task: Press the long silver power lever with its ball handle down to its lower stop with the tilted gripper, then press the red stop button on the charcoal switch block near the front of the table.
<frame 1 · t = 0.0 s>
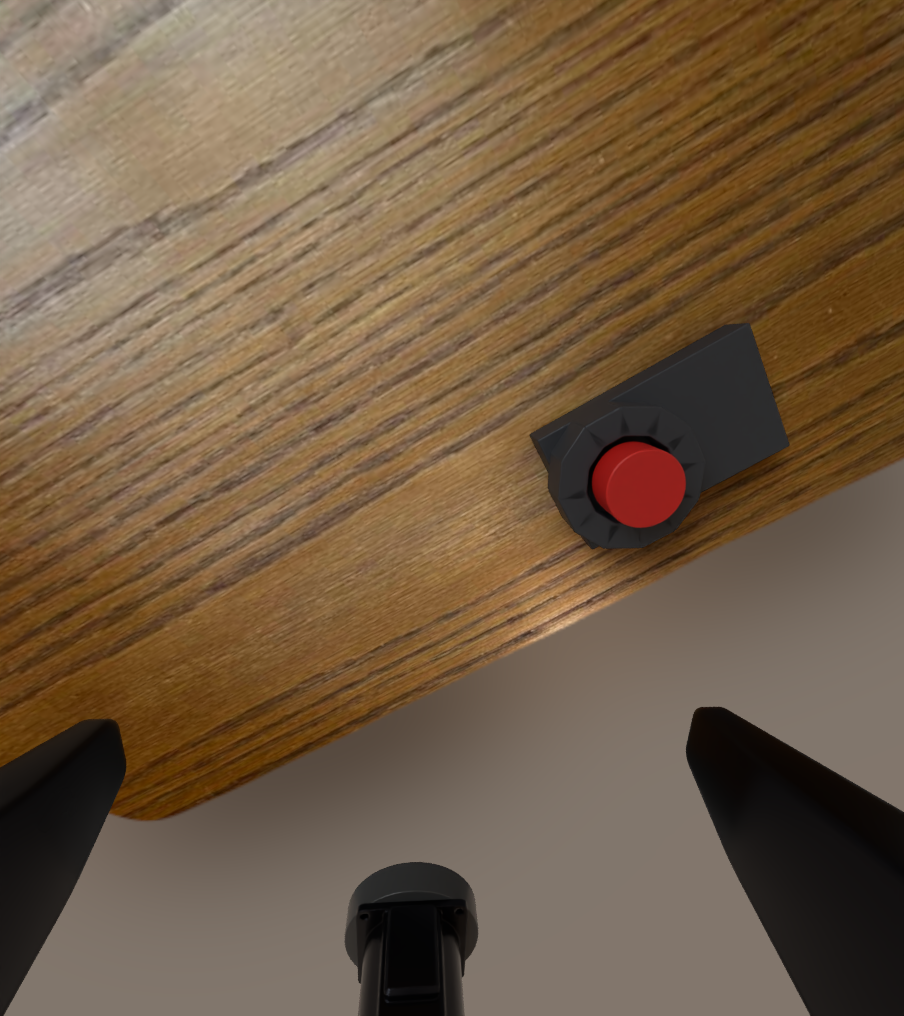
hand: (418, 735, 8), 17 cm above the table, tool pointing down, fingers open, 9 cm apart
switch block: (649, 436, 24), on the table
stop button: (637, 484, 20), point 4 cm above the table, slide at 0.1 cm
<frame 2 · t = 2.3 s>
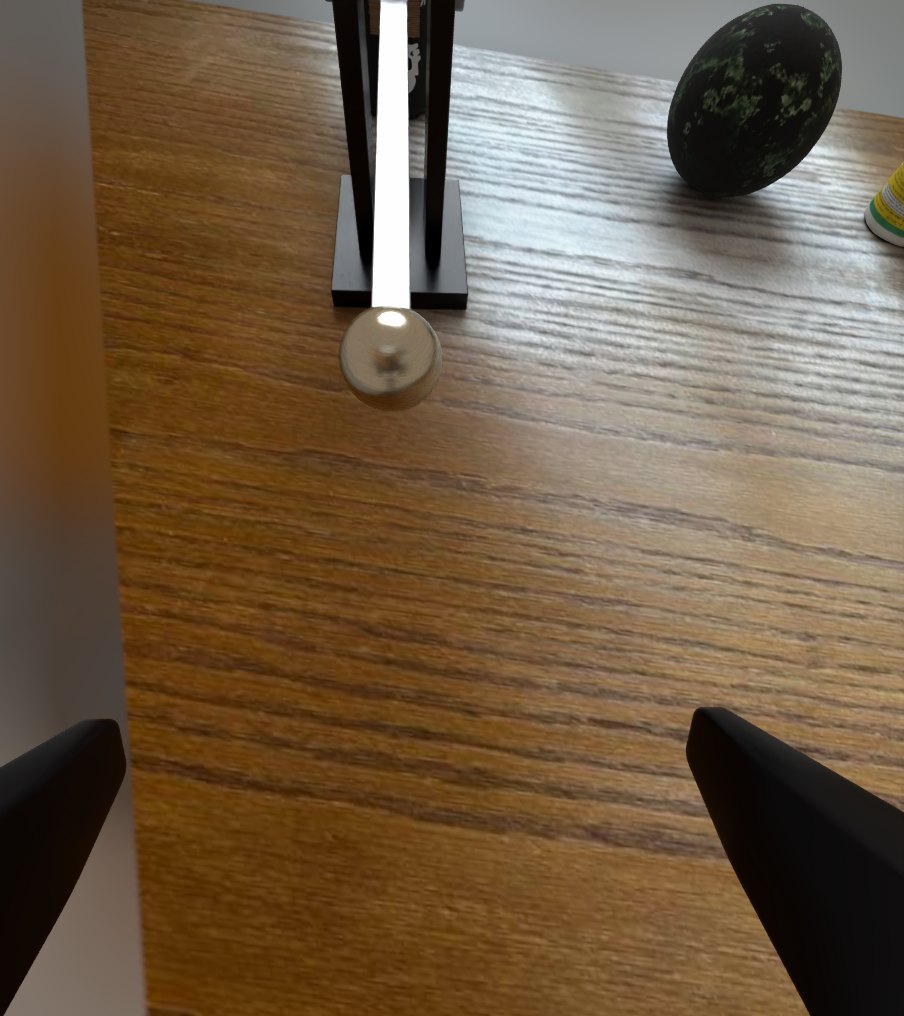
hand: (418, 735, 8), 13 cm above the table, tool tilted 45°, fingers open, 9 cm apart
supplement bottle: (894, 229, 38), on the table
beverage can: (394, 104, 40), on the table
power lever: (393, 129, 17), point 12 cm above the table, hinge at -3.0°
decorative stone: (707, 187, 38), on the table
lever bracket: (400, 247, 33), on the table
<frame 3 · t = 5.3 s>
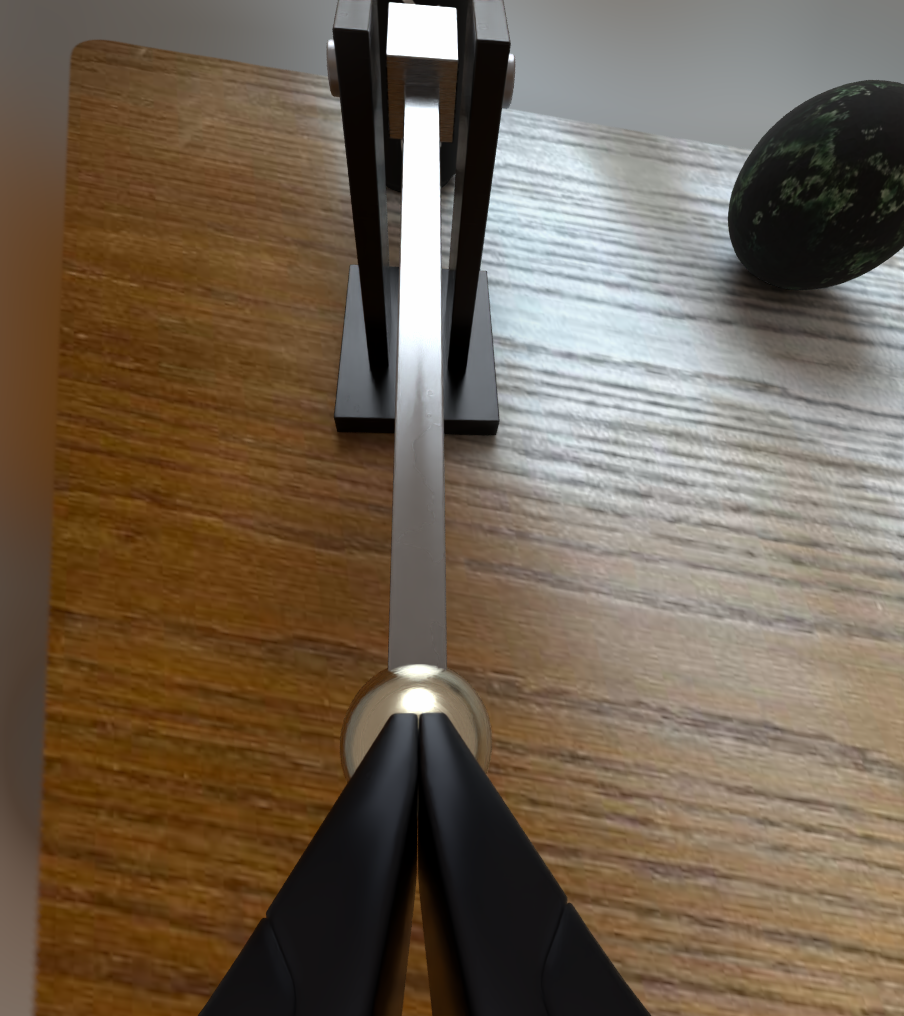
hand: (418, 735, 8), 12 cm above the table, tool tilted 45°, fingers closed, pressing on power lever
beverage can: (412, 174, 36), on the table
power lever: (420, 314, 13), point 11 cm above the table, hinge at -6.1°, touching gripper
decorative stone: (770, 274, 33), on the table
lever bracket: (418, 352, 28), on the table
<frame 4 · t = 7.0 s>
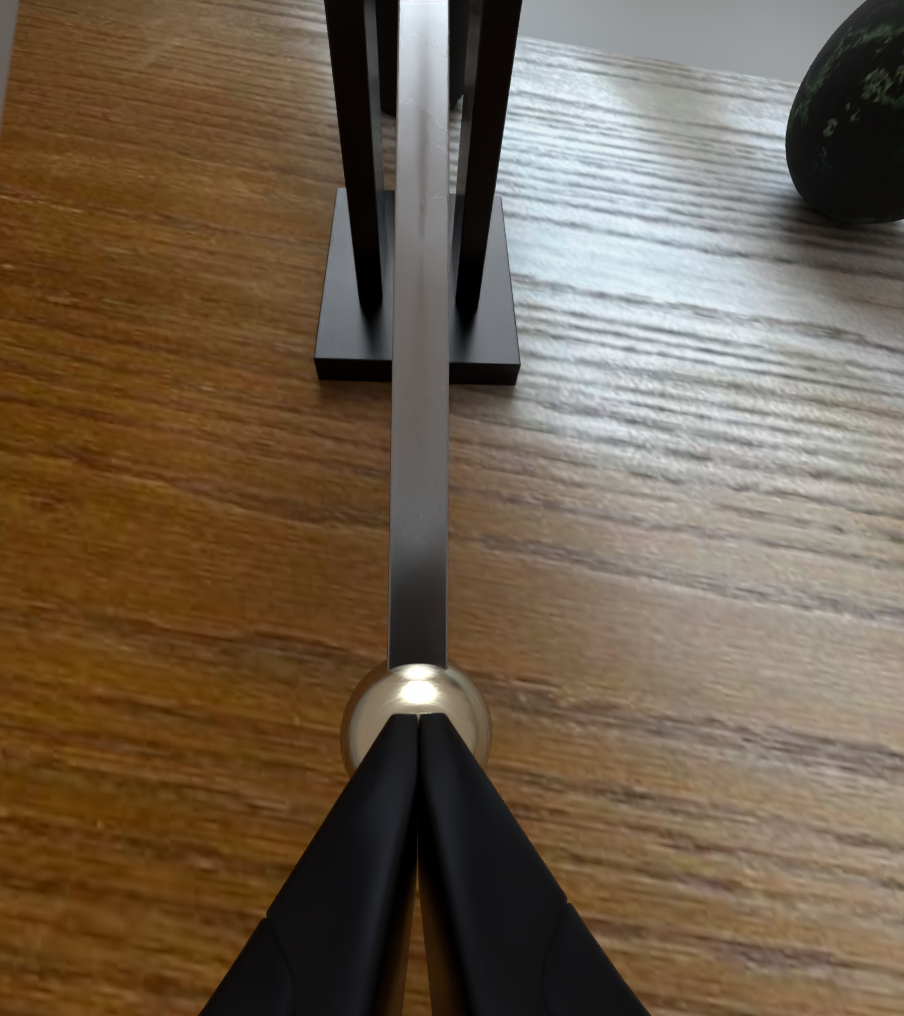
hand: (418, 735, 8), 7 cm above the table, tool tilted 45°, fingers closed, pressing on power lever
beverage can: (412, 99, 31), on the table
power lever: (421, 233, 10), point 9 cm above the table, hinge at -20.5°, touching gripper
decorative stone: (830, 211, 28), on the table
lever bracket: (419, 290, 23), on the table
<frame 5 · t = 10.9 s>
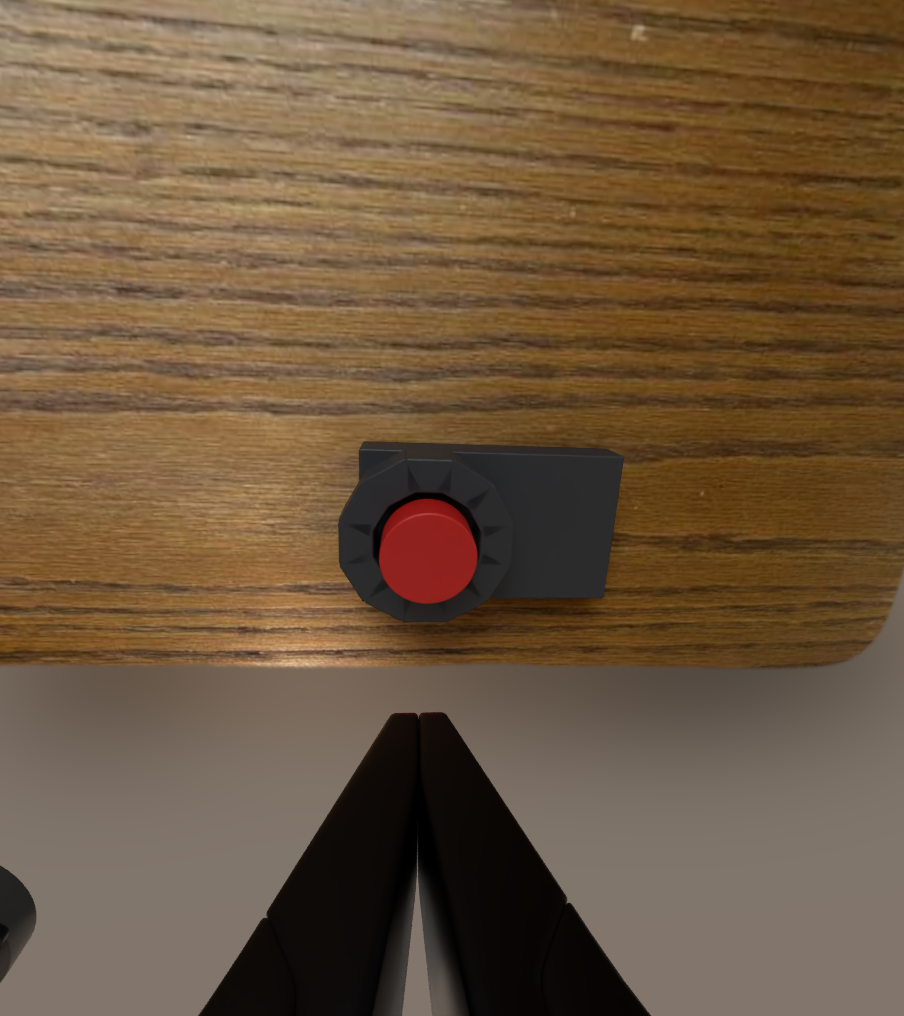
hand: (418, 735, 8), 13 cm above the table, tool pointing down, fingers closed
switch block: (483, 515, 21), on the table
stop button: (427, 550, 17), point 4 cm above the table, slide at 0.1 cm
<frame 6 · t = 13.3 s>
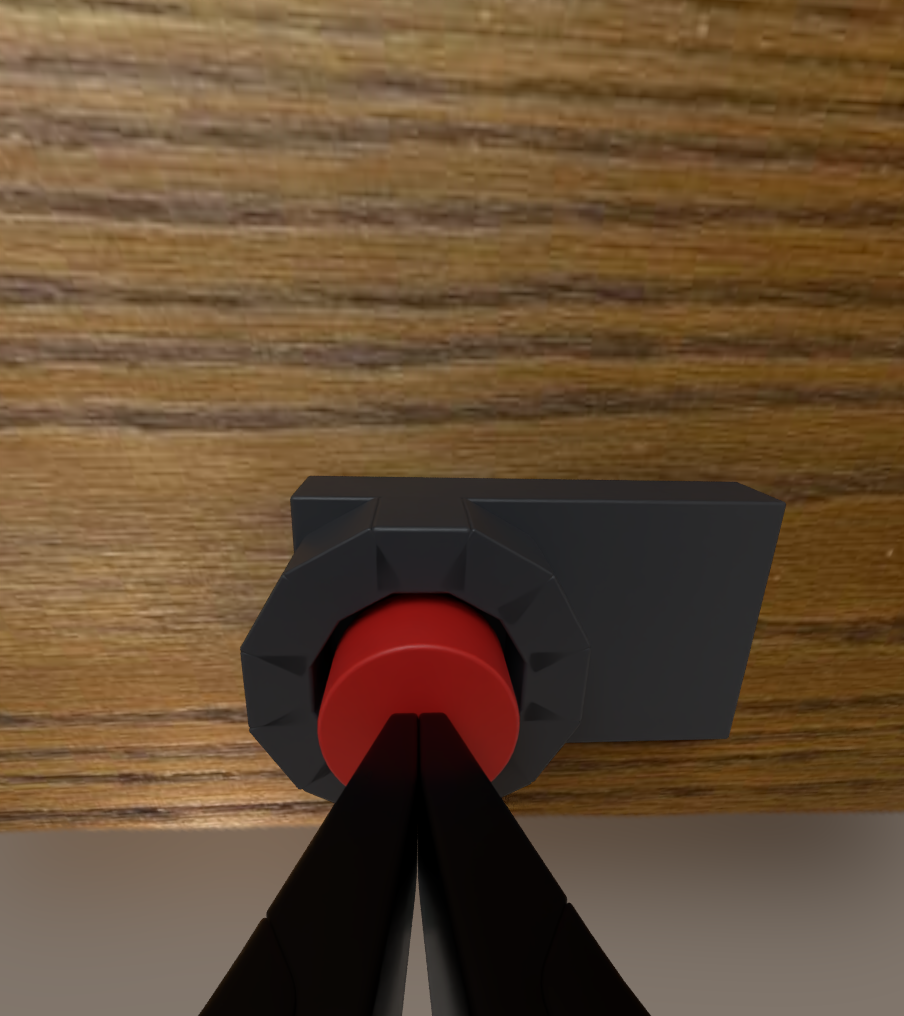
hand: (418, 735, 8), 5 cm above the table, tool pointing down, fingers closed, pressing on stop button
switch block: (520, 595, 12), on the table
stop button: (419, 696, 9), point 4 cm above the table, slide at -0.2 cm, touching gripper
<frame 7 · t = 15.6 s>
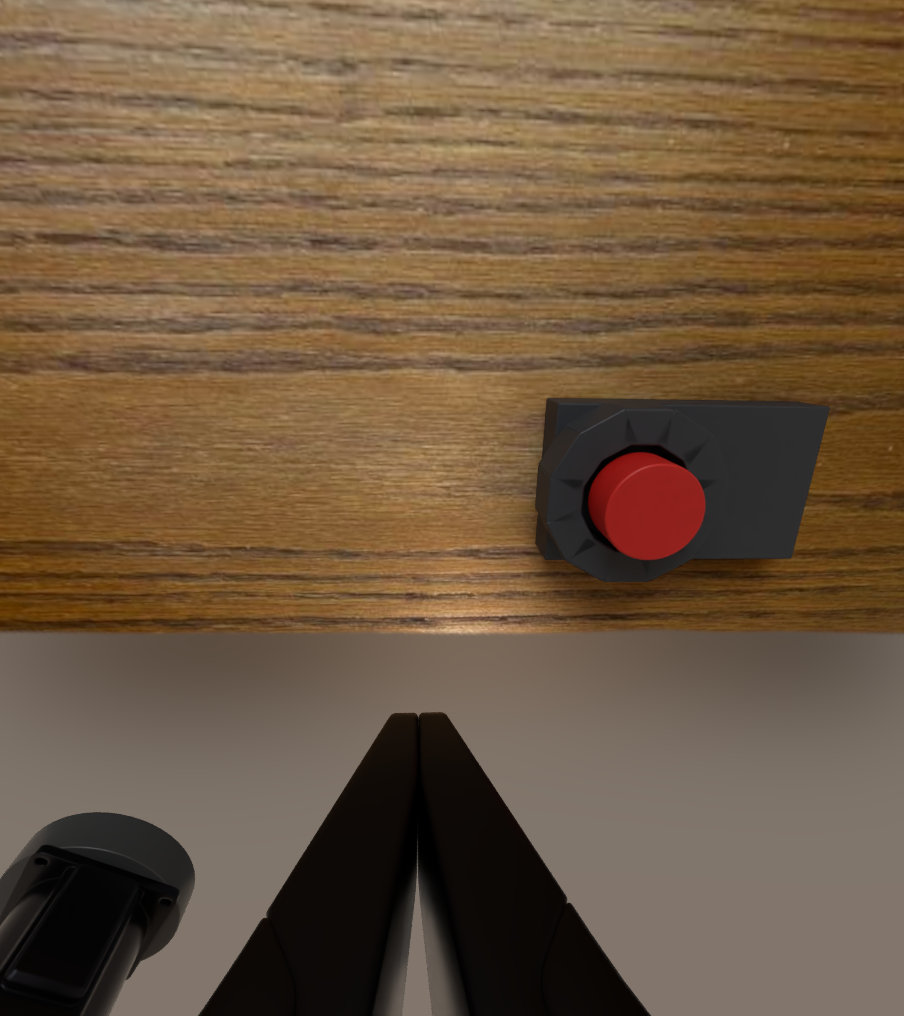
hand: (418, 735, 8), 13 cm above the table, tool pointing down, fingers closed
switch block: (662, 474, 20), on the table
stop button: (644, 505, 16), point 4 cm above the table, slide at 0.1 cm
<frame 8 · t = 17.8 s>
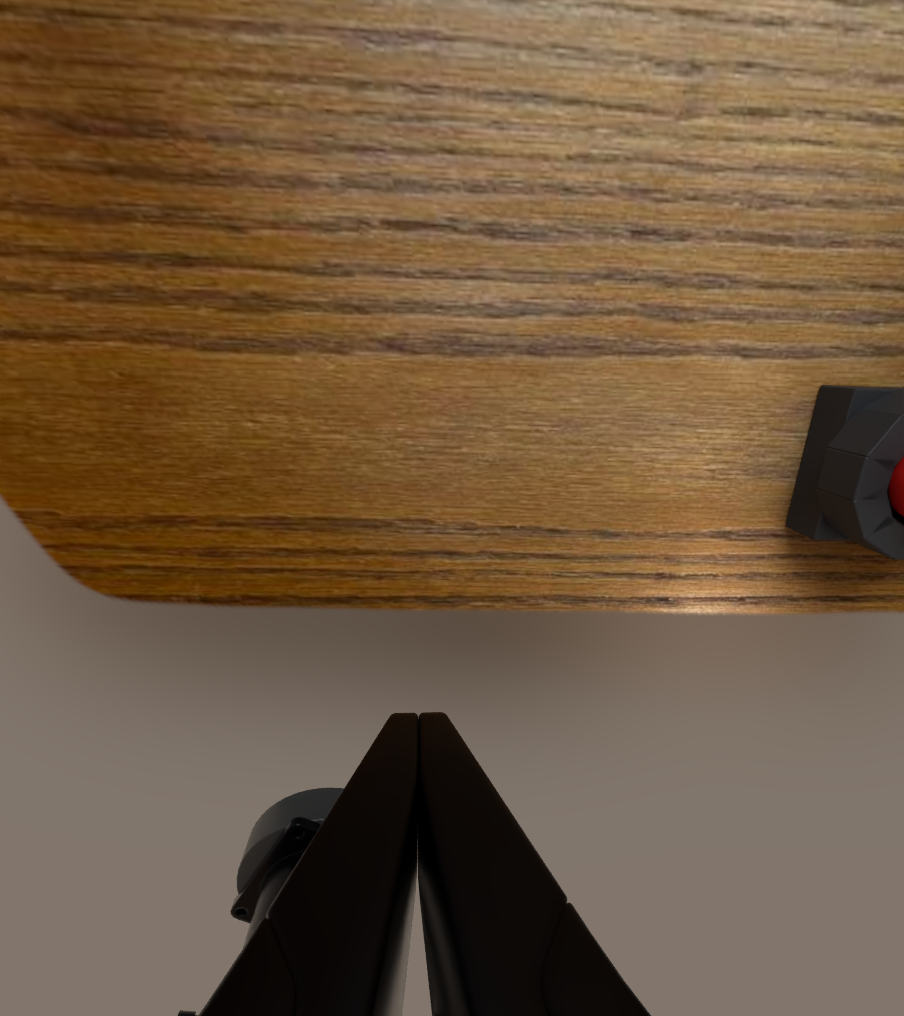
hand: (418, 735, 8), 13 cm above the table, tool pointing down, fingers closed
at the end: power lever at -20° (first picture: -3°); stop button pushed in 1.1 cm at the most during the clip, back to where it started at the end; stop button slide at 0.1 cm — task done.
